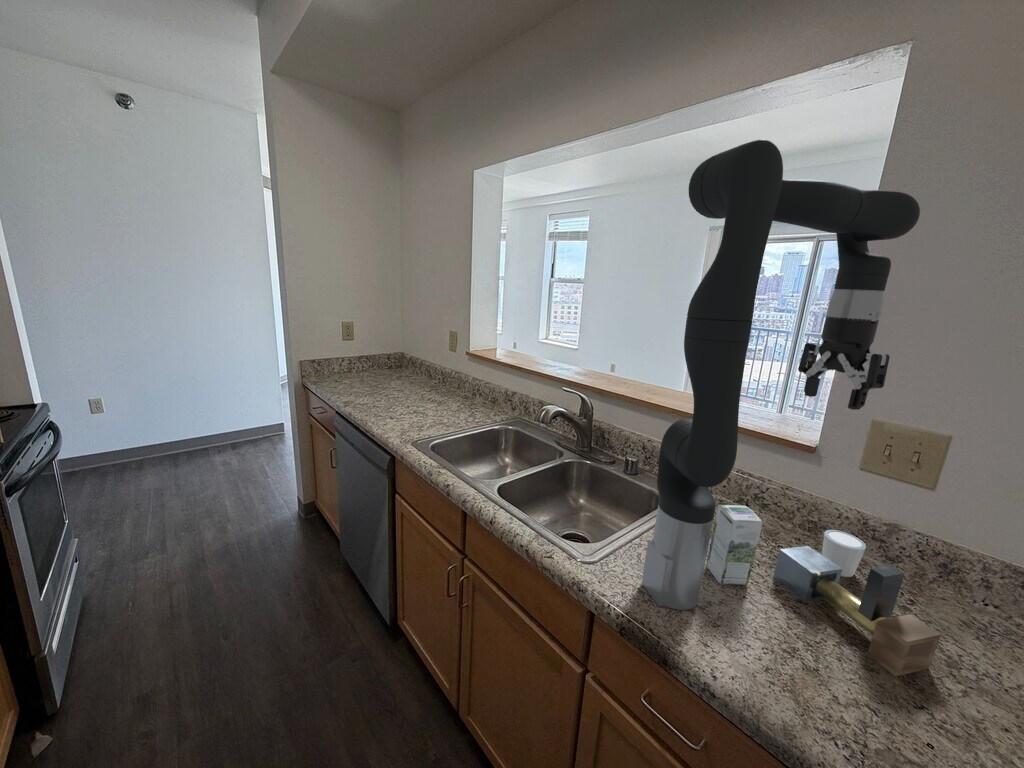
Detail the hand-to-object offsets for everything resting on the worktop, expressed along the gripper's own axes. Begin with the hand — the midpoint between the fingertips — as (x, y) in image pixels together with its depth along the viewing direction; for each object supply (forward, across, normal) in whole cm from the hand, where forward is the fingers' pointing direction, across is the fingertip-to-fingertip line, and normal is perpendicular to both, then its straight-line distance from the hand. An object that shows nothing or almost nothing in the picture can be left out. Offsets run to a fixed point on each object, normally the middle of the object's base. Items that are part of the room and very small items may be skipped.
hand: (831, 402), depth 78 cm
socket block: (+36, +22, -3) cm, 42 cm away
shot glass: (+36, +2, +10) cm, 38 cm away
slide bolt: (+35, +15, -3) cm, 38 cm away
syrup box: (+36, 0, -16) cm, 40 cm away
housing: (+36, +6, -3) cm, 37 cm away
